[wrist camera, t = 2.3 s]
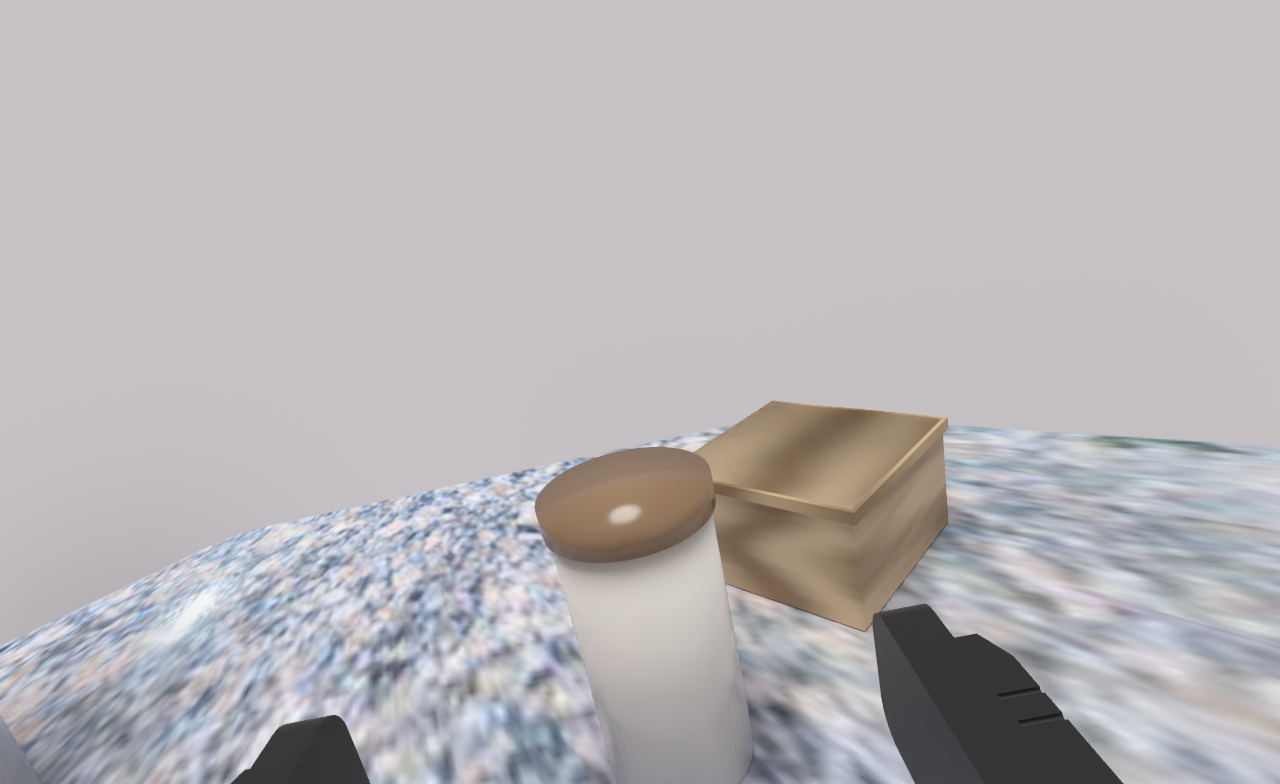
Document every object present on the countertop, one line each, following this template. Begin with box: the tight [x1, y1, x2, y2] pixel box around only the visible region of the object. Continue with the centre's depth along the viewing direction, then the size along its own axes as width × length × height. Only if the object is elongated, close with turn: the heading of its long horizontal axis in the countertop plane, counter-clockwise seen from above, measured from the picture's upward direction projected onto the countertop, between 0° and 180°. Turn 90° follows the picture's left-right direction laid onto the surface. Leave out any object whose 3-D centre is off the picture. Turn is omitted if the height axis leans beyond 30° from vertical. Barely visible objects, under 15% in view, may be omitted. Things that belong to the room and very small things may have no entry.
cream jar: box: [535, 447, 754, 784], centre depth 23 cm, size 6×6×11 cm
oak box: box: [693, 401, 948, 631], centre depth 34 cm, size 10×10×6 cm
